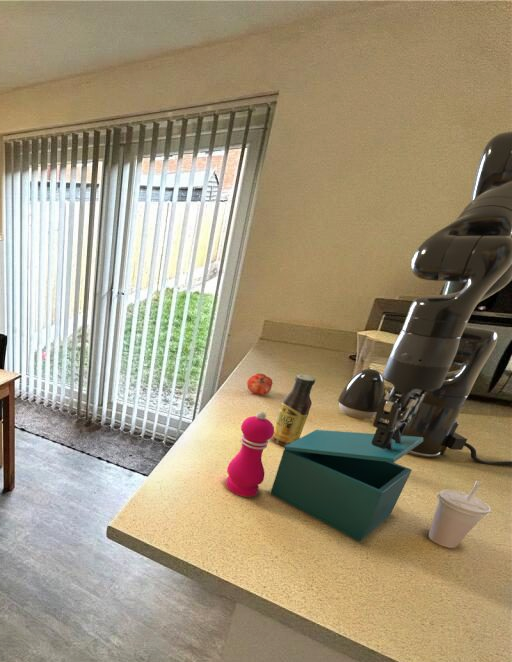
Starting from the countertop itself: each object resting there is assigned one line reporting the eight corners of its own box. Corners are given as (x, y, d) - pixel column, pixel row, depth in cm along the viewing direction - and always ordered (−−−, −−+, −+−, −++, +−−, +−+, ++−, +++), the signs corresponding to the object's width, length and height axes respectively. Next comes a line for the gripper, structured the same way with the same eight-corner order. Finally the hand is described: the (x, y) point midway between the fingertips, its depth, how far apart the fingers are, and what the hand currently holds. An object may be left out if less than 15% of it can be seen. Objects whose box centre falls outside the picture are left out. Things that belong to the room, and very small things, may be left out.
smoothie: (477, 555, 72) (514, 494, 66) (435, 550, 73) (469, 490, 68) (448, 530, 78) (480, 472, 72) (410, 526, 79) (439, 468, 73)
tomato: (242, 393, 143) (243, 385, 135) (251, 375, 143) (252, 366, 135) (265, 401, 139) (268, 393, 130) (274, 382, 139) (277, 373, 131)
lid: (423, 441, 74) (420, 412, 74) (393, 462, 68) (390, 431, 68) (316, 433, 90) (313, 409, 90) (284, 450, 84) (280, 424, 83)
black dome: (341, 419, 119) (358, 373, 113) (329, 405, 128) (344, 362, 122) (383, 425, 115) (403, 378, 109) (368, 410, 124) (386, 365, 118)
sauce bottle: (264, 437, 111) (283, 372, 103) (285, 435, 111) (305, 371, 104) (281, 449, 105) (303, 381, 97) (303, 448, 105) (326, 380, 98)
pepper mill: (255, 481, 93) (276, 406, 85) (262, 501, 87) (287, 422, 79) (221, 476, 95) (239, 402, 87) (226, 494, 89) (246, 417, 81)
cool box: (389, 516, 81) (412, 469, 77) (360, 542, 75) (382, 492, 71) (301, 475, 95) (315, 433, 90) (270, 494, 89) (283, 449, 84)
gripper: (434, 372, 61) (395, 463, 68) (465, 355, 68) (426, 440, 74) (374, 359, 67) (343, 444, 74) (407, 345, 74) (376, 424, 80)
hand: (385, 441), depth 74 cm, fingers closed on lid, 5 cm apart
